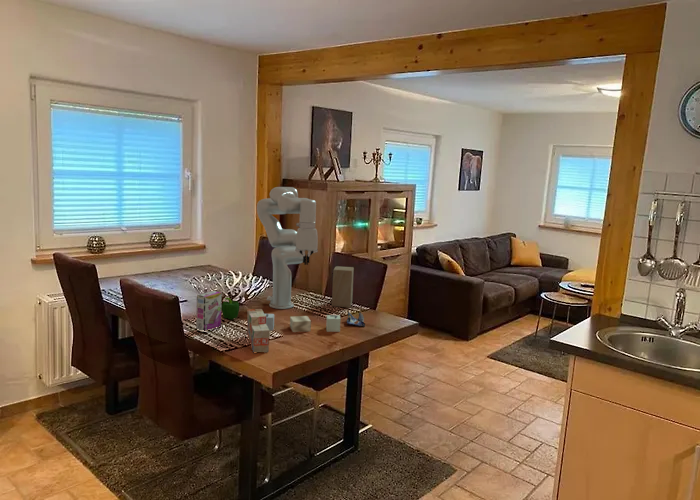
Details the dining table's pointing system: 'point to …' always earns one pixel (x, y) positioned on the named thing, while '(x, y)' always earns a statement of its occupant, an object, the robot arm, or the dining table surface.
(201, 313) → the candy bar box
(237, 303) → the bell pepper
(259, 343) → the stack of blocks
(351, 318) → the snack package
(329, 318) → the sage numbered cube
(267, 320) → the grey-blue numbered cube
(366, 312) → the dining table surface
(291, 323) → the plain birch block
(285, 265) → the robot arm
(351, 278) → the wooden block
